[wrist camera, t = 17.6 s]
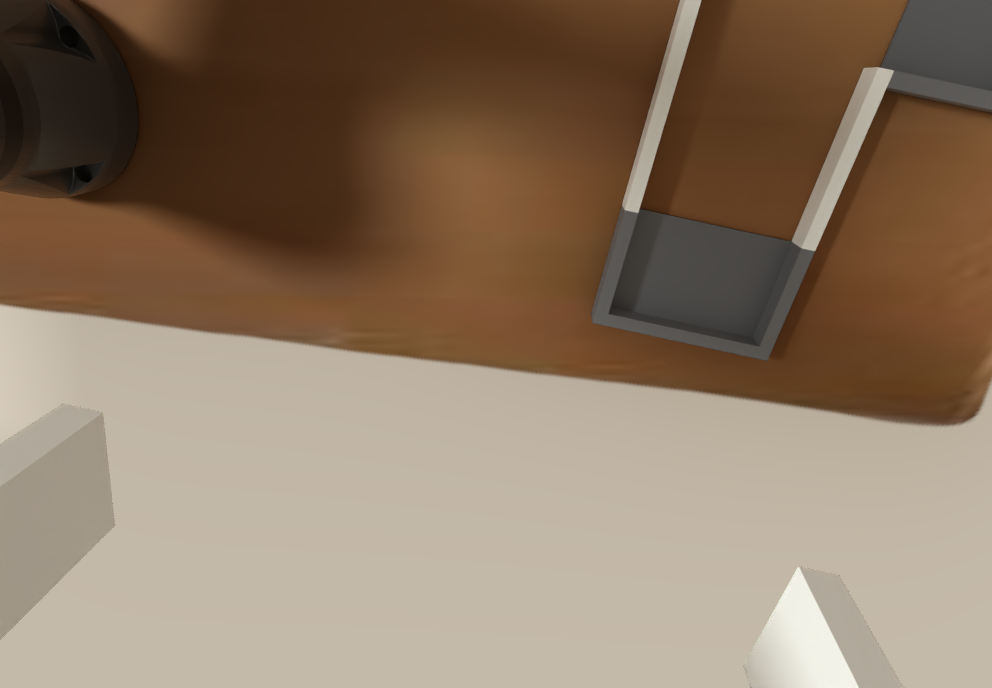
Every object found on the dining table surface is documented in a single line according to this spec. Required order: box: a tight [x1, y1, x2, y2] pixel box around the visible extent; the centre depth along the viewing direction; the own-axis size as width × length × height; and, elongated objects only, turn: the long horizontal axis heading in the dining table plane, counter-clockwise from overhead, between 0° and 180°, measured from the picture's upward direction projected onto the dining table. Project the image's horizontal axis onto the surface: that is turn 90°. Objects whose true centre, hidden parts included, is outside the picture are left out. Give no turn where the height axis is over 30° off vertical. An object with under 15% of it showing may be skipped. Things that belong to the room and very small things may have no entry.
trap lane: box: [591, 0, 992, 361], centre depth 38 cm, size 23×42×3 cm, turn 169°
